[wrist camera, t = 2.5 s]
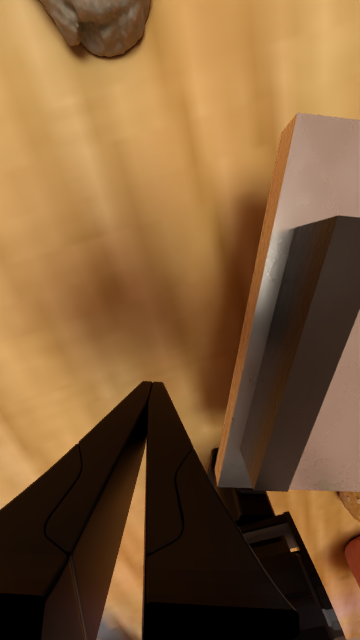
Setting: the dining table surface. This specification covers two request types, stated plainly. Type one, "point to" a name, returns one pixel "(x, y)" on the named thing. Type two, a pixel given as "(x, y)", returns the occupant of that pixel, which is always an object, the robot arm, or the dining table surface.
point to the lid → (301, 323)
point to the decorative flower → (354, 557)
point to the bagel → (351, 503)
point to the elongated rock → (100, 23)
